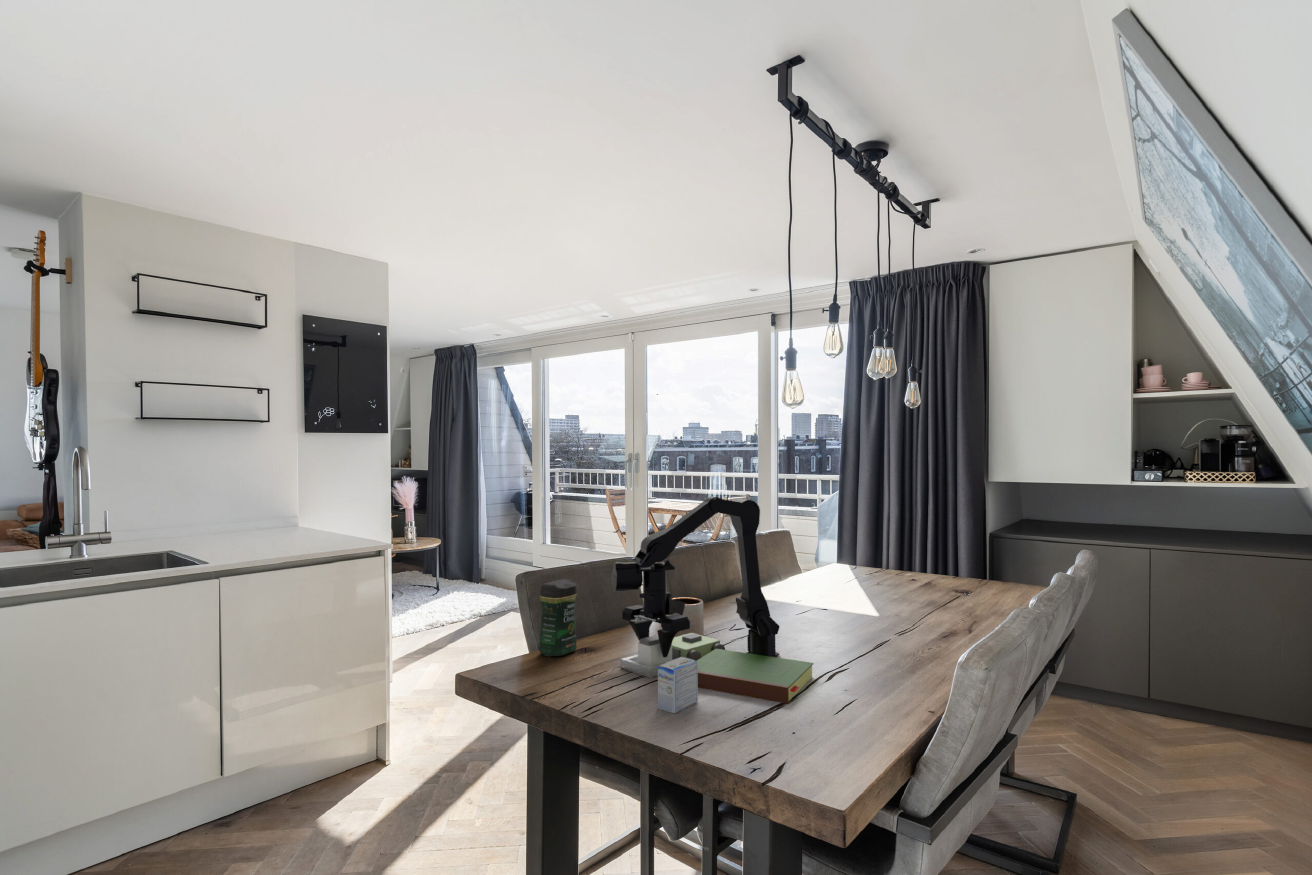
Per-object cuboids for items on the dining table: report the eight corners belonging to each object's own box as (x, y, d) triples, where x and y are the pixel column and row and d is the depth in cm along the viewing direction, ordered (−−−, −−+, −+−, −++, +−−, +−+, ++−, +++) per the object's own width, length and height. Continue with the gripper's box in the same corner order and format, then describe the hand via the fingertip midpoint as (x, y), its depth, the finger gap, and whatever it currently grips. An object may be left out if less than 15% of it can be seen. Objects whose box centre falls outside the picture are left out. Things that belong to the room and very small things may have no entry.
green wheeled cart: (725, 657, 166) (725, 637, 166) (690, 668, 158) (689, 647, 158) (687, 646, 176) (687, 627, 176) (652, 656, 168) (652, 636, 168)
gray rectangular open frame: (686, 666, 159) (686, 658, 159) (649, 677, 151) (649, 668, 151) (657, 657, 167) (657, 649, 167) (620, 667, 159) (620, 658, 159)
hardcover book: (681, 686, 146) (681, 669, 146) (716, 663, 163) (716, 648, 163) (791, 706, 134) (791, 688, 134) (816, 679, 150) (816, 663, 151)
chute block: (672, 665, 160) (672, 636, 160) (650, 672, 155) (650, 642, 155) (659, 661, 163) (659, 633, 163) (638, 667, 158) (638, 638, 159)
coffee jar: (558, 659, 165) (558, 584, 166) (534, 654, 169) (534, 582, 170) (582, 649, 174) (581, 578, 174) (558, 645, 178) (558, 576, 178)
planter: (660, 638, 184) (660, 603, 185) (671, 628, 195) (671, 596, 195) (698, 641, 181) (698, 606, 182) (707, 631, 192) (707, 598, 192)
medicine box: (681, 697, 138) (680, 656, 139) (698, 702, 135) (698, 660, 136) (657, 709, 132) (656, 665, 132) (674, 714, 129) (674, 669, 130)
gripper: (705, 589, 158) (706, 655, 158) (654, 579, 172) (654, 639, 172) (672, 596, 151) (672, 665, 150) (620, 585, 165) (621, 648, 164)
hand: (655, 653), depth 159 cm, fingers open, 7 cm apart
